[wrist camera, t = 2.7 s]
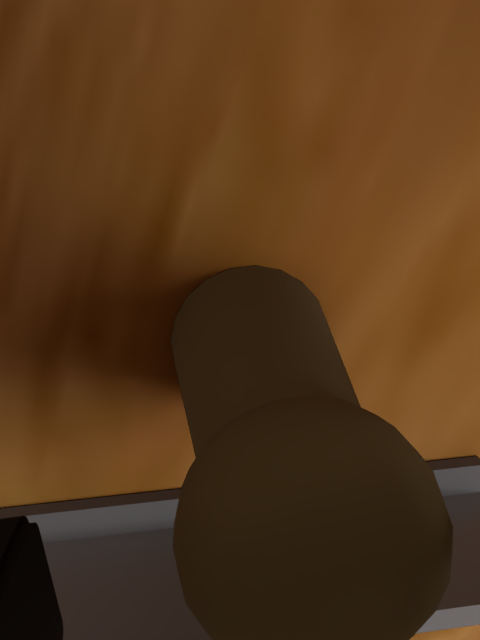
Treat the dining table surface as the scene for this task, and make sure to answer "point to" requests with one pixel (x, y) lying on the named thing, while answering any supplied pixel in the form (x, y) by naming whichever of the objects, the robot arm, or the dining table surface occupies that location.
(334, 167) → the dining table surface
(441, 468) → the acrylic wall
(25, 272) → the dining table surface
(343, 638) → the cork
